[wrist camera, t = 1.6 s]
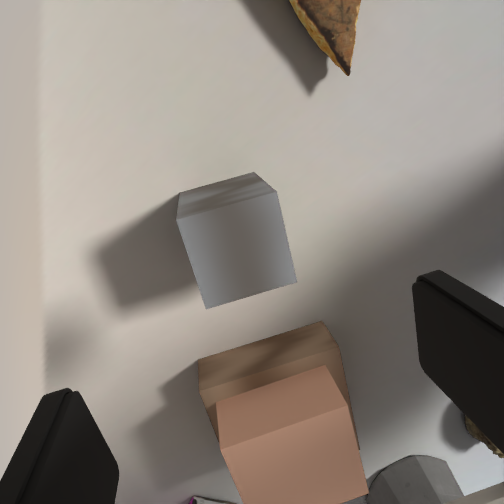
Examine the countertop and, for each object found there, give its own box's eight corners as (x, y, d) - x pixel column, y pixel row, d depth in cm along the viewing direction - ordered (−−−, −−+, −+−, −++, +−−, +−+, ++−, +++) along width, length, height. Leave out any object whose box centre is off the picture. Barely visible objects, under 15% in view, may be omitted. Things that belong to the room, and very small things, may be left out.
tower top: (325, 364, 26) (347, 405, 23) (346, 445, 29) (369, 493, 25) (215, 402, 26) (220, 450, 22) (248, 480, 29) (256, 534, 25)
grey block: (253, 171, 25) (276, 191, 18) (270, 241, 26) (297, 282, 20) (179, 192, 24) (176, 219, 18) (202, 261, 26) (206, 309, 20)
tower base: (320, 318, 30) (338, 346, 26) (341, 412, 33) (360, 449, 30) (197, 356, 29) (198, 391, 25) (232, 448, 33) (237, 490, 29)
